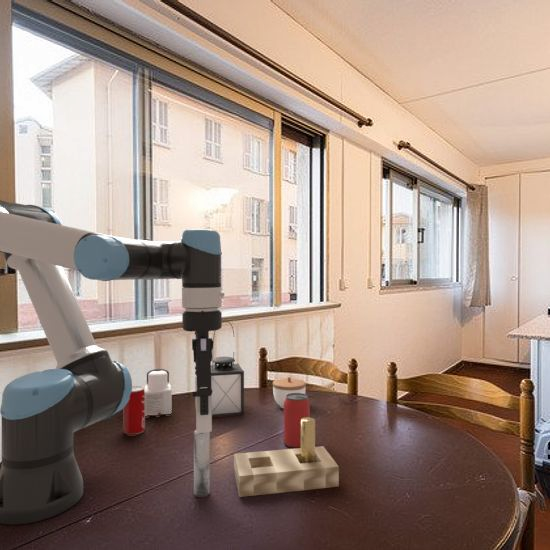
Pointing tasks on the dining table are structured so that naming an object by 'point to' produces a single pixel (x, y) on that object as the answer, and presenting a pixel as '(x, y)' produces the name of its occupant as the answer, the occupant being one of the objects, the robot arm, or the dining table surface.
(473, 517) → the dining table surface
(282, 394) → the lidded jar
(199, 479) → the steel pin
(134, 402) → the soda can
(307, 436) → the brass pin
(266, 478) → the pin block
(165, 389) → the container
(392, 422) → the dining table surface
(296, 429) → the beer can
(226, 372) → the lantern
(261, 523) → the dining table surface
